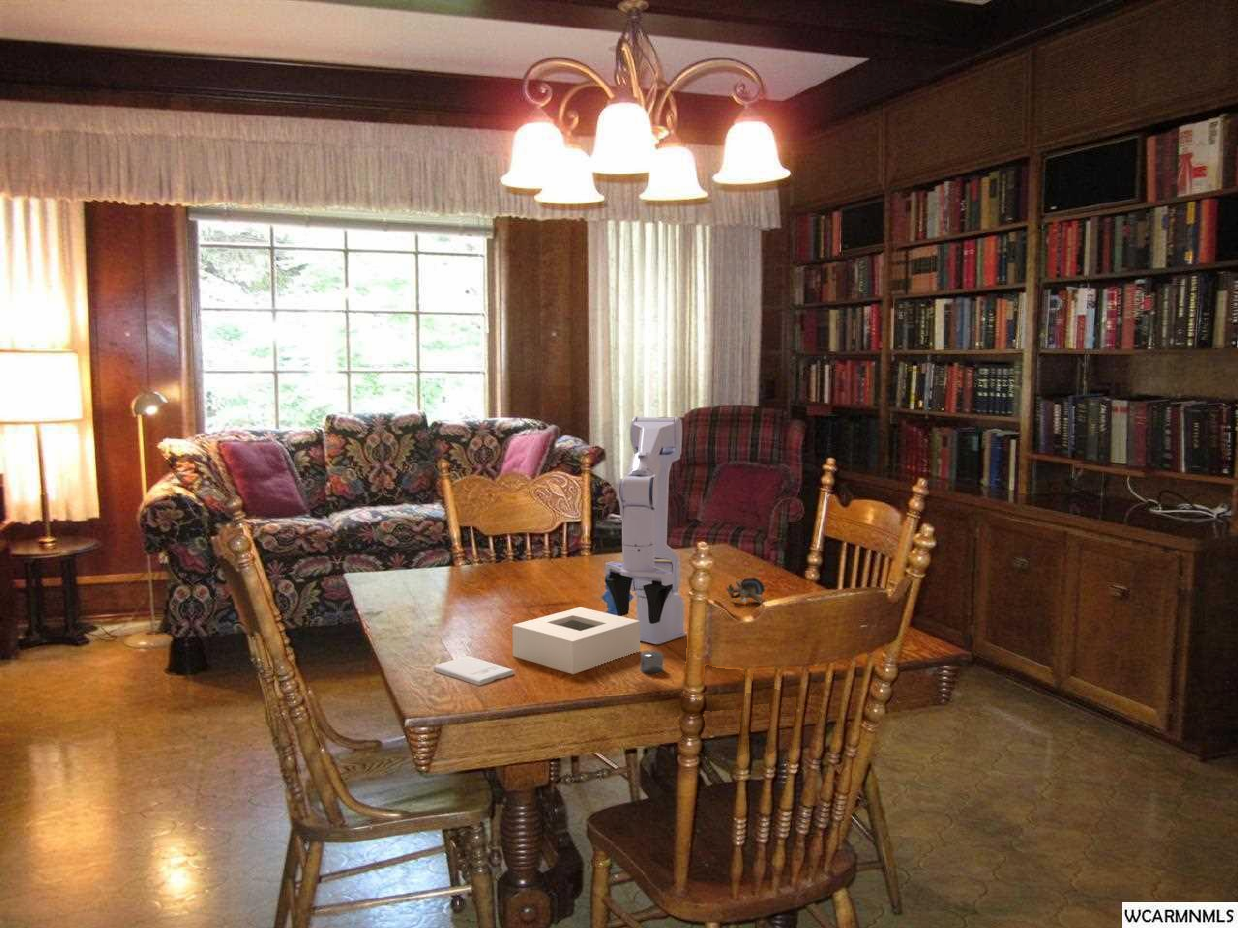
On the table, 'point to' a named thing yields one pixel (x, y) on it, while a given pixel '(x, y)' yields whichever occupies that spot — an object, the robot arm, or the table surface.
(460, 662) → the external hard drive
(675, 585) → the robot arm
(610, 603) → the grapes
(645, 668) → the dark grey rounded piece
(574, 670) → the box
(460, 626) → the table surface
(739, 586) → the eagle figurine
